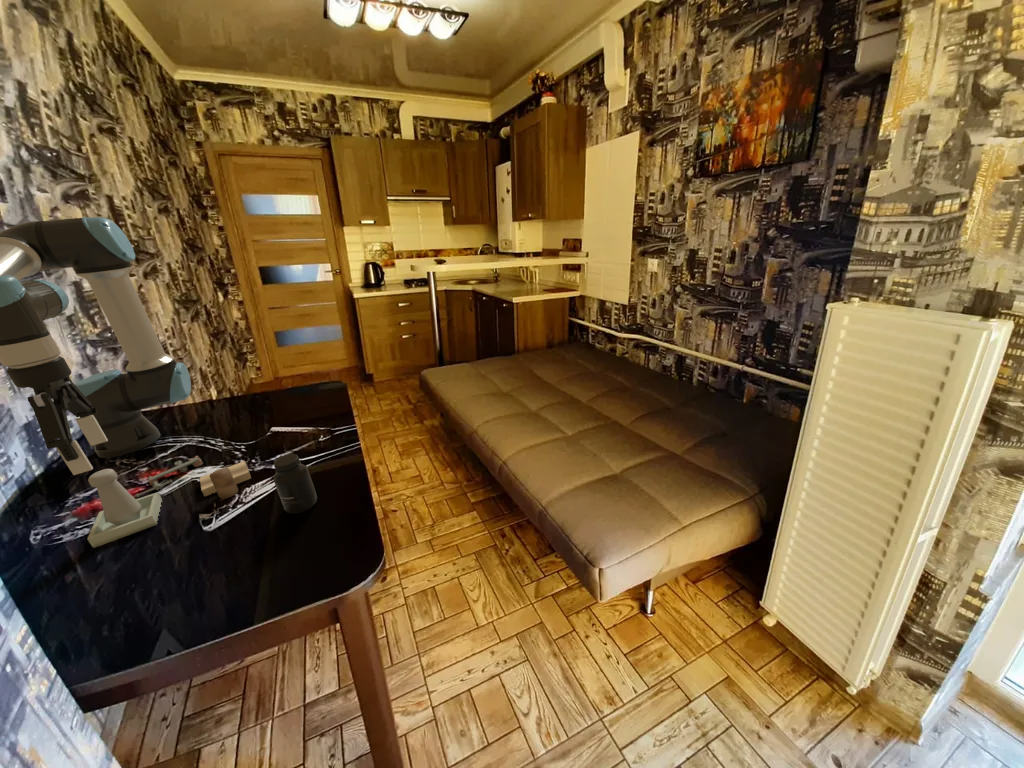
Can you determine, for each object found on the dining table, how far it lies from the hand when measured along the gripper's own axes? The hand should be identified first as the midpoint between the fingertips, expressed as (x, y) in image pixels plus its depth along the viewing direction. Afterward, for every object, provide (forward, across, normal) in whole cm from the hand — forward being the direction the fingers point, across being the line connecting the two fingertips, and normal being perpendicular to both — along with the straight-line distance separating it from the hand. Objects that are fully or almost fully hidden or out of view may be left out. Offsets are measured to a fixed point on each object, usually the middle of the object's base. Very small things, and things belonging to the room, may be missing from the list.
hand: (92, 456), depth 84 cm
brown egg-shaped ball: (+17, +4, +19) cm, 26 cm away
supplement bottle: (+17, +21, +33) cm, 43 cm away
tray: (+17, +1, 0) cm, 17 cm away
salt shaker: (+17, +1, 0) cm, 17 cm away
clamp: (+18, -17, +6) cm, 26 cm away
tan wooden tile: (+18, -3, +19) cm, 26 cm away
